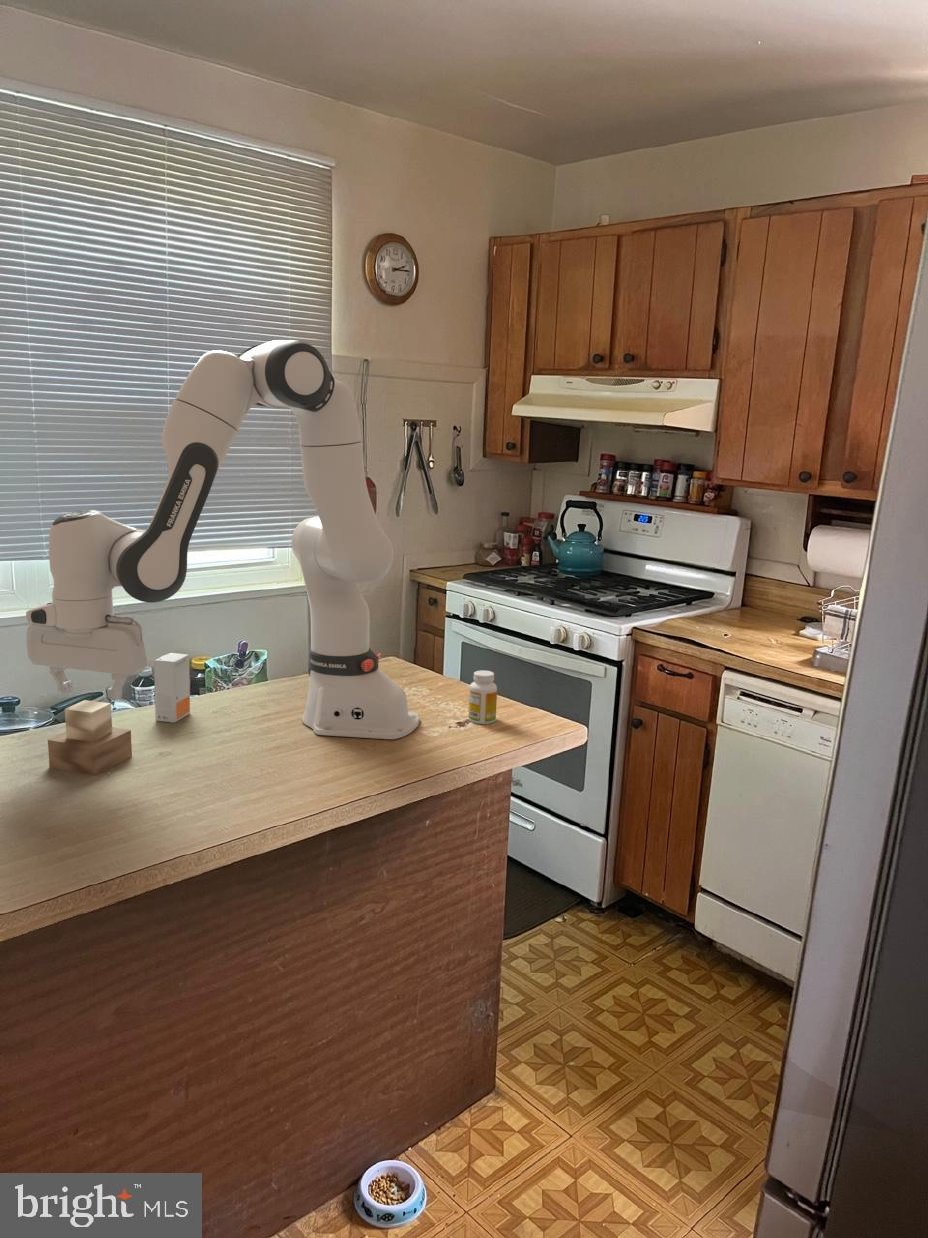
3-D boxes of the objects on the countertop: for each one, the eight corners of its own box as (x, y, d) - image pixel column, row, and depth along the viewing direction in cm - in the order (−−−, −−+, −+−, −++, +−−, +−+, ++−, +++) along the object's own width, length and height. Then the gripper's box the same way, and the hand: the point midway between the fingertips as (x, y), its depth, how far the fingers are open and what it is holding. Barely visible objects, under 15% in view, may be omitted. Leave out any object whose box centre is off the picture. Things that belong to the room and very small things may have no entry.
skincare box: (175, 723, 168) (173, 662, 165) (154, 721, 169) (152, 660, 166) (191, 713, 174) (189, 654, 171) (171, 711, 175) (169, 652, 172)
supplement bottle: (495, 716, 179) (497, 669, 177) (495, 725, 174) (498, 677, 172) (468, 715, 179) (470, 668, 177) (468, 724, 174) (470, 676, 172)
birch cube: (112, 732, 149) (110, 703, 148) (93, 742, 145) (91, 712, 144) (86, 728, 150) (84, 700, 149) (66, 738, 146) (64, 709, 145)
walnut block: (132, 758, 152) (130, 730, 151) (95, 777, 143) (93, 747, 142) (88, 750, 154) (86, 722, 153) (49, 768, 146) (47, 739, 145)
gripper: (152, 614, 144) (157, 696, 147) (44, 603, 149) (51, 683, 152) (128, 622, 138) (133, 708, 141) (16, 611, 143) (24, 694, 146)
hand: (90, 695), depth 146 cm, fingers open, 8 cm apart
